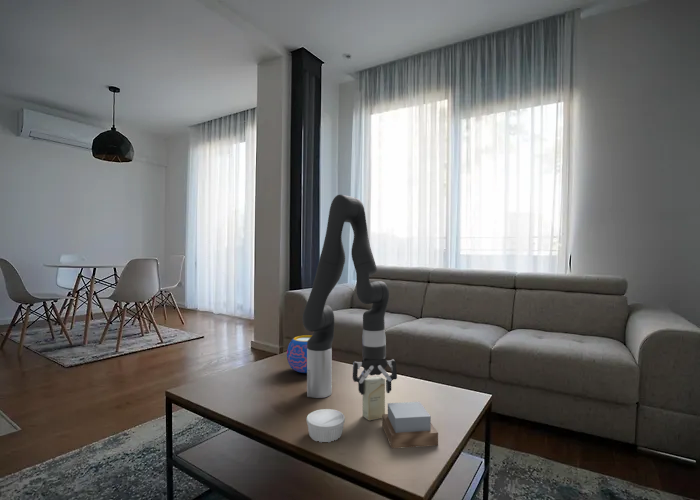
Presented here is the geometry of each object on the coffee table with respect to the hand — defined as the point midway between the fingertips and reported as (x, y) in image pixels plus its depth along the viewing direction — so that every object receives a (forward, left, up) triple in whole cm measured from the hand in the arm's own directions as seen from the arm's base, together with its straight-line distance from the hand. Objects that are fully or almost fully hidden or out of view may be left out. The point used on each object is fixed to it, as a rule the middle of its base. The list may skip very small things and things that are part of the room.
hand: (375, 393), depth 118 cm
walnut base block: (+8, -13, -8) cm, 17 cm away
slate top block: (+7, -13, -4) cm, 15 cm away
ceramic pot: (-22, +47, -8) cm, 53 cm away
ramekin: (-16, -10, -8) cm, 21 cm away
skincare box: (0, 0, -8) cm, 8 cm away
